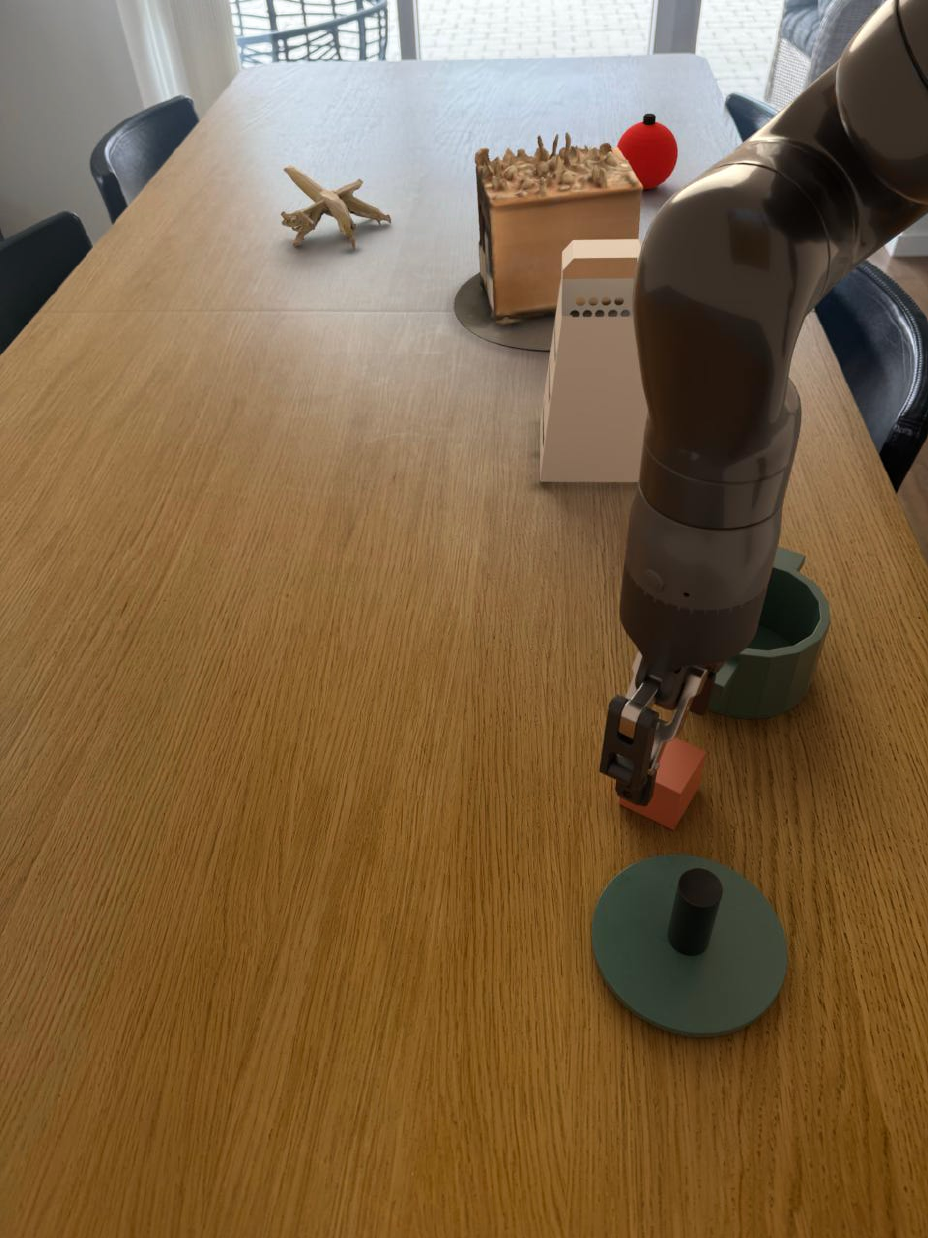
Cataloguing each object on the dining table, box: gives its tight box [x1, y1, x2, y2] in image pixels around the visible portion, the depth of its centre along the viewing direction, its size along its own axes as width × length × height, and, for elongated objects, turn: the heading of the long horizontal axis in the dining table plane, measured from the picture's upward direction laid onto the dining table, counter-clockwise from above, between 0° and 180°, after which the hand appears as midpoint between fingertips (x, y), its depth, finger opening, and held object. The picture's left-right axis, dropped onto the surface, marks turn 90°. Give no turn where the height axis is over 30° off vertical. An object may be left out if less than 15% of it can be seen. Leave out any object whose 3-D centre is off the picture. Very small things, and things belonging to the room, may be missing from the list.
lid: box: [590, 853, 789, 1038], centre depth 55 cm, size 11×11×7 cm
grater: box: [539, 238, 648, 483], centre depth 88 cm, size 10×10×20 cm
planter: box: [453, 132, 644, 351], centre depth 111 cm, size 25×25×19 cm
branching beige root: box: [280, 165, 392, 249], centre depth 134 cm, size 9×16×15 cm
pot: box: [707, 545, 832, 720], centre depth 71 cm, size 10×16×6 cm, turn 146°
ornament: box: [616, 113, 679, 190], centre depth 140 cm, size 9×9×10 cm
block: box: [618, 737, 707, 831], centre depth 63 cm, size 4×4×4 cm
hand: (663, 750), depth 62 cm, fingers open, 8 cm apart
